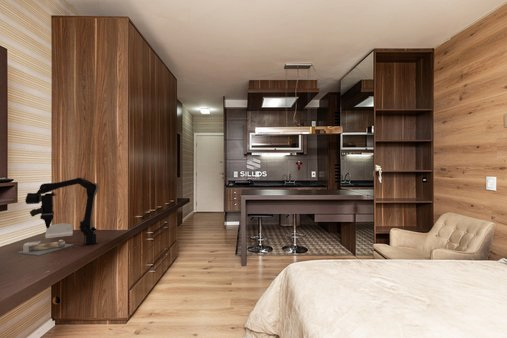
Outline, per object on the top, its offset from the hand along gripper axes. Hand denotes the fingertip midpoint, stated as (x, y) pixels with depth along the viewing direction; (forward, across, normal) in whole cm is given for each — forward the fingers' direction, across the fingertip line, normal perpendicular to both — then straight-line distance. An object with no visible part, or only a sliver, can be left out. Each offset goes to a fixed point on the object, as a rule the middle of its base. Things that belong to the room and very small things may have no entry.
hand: (47, 228), depth 169 cm
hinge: (+12, -32, +6) cm, 35 cm away
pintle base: (+12, +5, -1) cm, 13 cm away
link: (+11, +7, +1) cm, 13 cm away
